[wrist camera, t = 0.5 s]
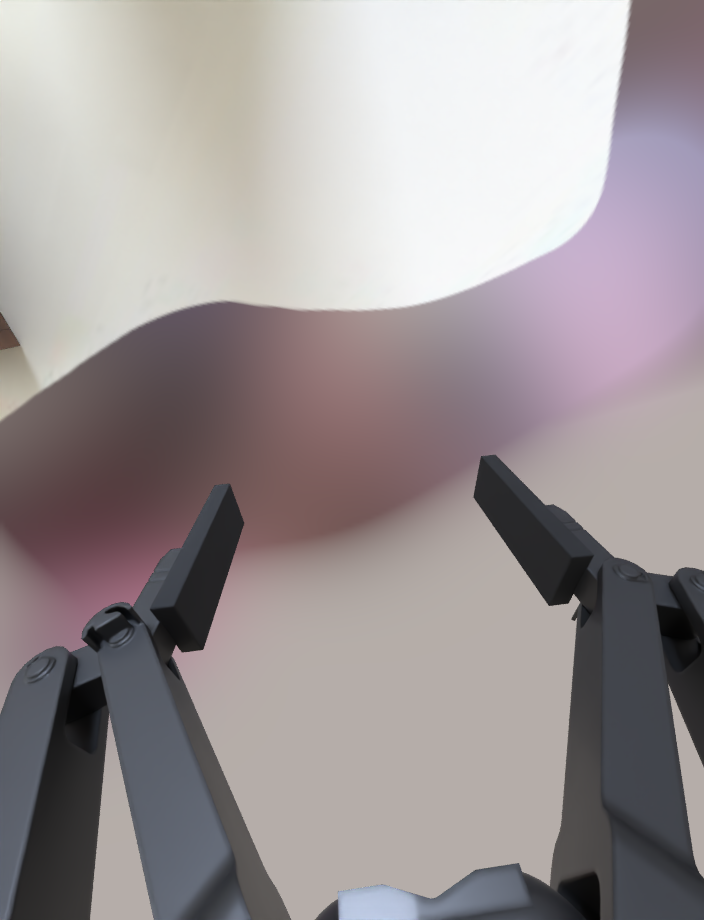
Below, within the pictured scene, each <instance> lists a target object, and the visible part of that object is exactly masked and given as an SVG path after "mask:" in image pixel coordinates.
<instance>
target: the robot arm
mask: <svg viewBox="0 0 704 920" xmlns="http://www.w3.org/2000/svg"><path fill="white" fill-rule="evenodd" d="M474 498H475V500H476V501H477V503H478V504H479V506H480V507H481V509H482V510H483V511H484V513H485V514H486V516H487V517H488V519H489V520H490V522H491V523H492V525H493V526H494V527H495V529H496V530H497V532H498V533H499V535H500V536H501V538H502V539H503V540H504V542H505V543H506V545H507V546H508V548H509V549H510V550H511V552H512V553H513V555H514V556H515V557H516V559H517V561H518V562H519V563H520V565H521V566H522V568H523V569H524V571H525V572H526V574H527V575H528V576H529V578H530V579H531V581H532V582H533V583H534V585H535V586H536V588H537V589H538V591H539V592H540V594H541V595H542V597H543V598H544V599H545V601H546V602H547V603H548V605H549V606H552V605H560V604H568V603H569V601H570V600H571V598H572V595H573V594H574V595H575V596H576V597H577V598H578V600H579V601H580V604H579V606H578V608H577V609H576V611H575V613H574V615H573V617H572V620H574V621H575V620H576V618H577V628H576V640H575V653H574V666H573V679H572V692H571V706H570V718H569V731H568V732H569V733H568V745H567V757H566V771H565V784H564V797H563V810H562V821H561V828H560V832H559V836H558V838H557V841H556V844H555V849H554V853H553V860H552V868H551V880H550V886H548V885H547V884H545V883H544V882H542V881H541V880H539V879H537V878H535V877H533V876H531V875H529V874H526V873H523V872H522V871H521V868H520V865H519V863H517V864H511V865H505V866H498V867H491V868H485V869H479V870H475V871H473V872H472V873H470V874H469V875H468V876H466V877H465V878H463V879H462V880H461V881H459V882H458V883H456V884H455V885H453V886H452V887H451V888H450V889H448V890H446V891H445V892H444V893H442V894H441V895H439V896H438V897H436V898H433V899H430V898H426V897H423V896H419V895H416V894H413V893H410V892H406V891H403V890H400V889H396V888H393V887H390V886H386V885H377V886H370V887H364V888H357V889H351V890H345V891H338V899H337V900H336V901H334V902H333V903H331V904H330V905H329V906H328V907H327V908H326V909H325V910H323V911H322V912H321V913H320V914H319V916H318V917H317V918H316V919H315V920H704V878H703V877H702V876H701V875H700V873H699V871H698V869H697V867H696V865H695V860H694V856H693V851H692V843H691V837H690V830H689V823H688V816H687V810H686V803H685V796H684V789H683V783H682V776H681V769H680V762H679V755H678V749H677V742H676V735H675V728H674V722H673V715H672V708H671V701H670V695H669V688H668V684H669V686H670V688H671V691H672V693H673V695H674V698H675V700H676V702H677V705H678V707H679V710H680V712H681V714H682V717H683V719H684V722H685V724H686V726H687V729H688V731H689V733H690V736H691V738H692V740H693V743H694V745H695V748H696V750H697V752H698V755H699V757H700V759H701V761H702V764H703V766H704V571H702V570H699V569H695V568H687V567H685V568H681V569H679V570H678V571H677V572H676V574H675V575H674V576H667V575H660V574H653V573H647V572H645V570H644V569H642V568H641V567H639V566H638V565H636V564H634V563H632V562H630V561H627V560H624V559H620V558H614V557H613V556H612V555H611V554H610V553H609V552H608V551H607V550H606V549H605V548H604V547H602V545H600V544H599V543H598V542H597V541H596V540H595V539H594V538H593V537H592V536H591V535H590V534H589V533H588V532H587V531H586V530H583V528H582V526H581V525H579V524H578V523H576V522H575V520H574V519H573V518H572V517H571V516H570V515H569V514H568V513H567V512H566V511H564V510H562V509H560V508H559V507H557V506H555V505H544V504H543V503H542V502H541V500H539V499H538V497H537V496H536V495H534V493H533V492H532V491H531V490H530V489H528V487H527V486H526V485H525V484H524V483H523V482H522V481H521V480H520V479H519V478H518V477H517V476H516V475H515V474H514V473H513V472H512V471H511V470H510V469H509V468H508V467H507V466H506V465H505V464H504V463H503V462H502V461H501V460H500V459H499V458H498V457H497V456H496V455H489V456H481V460H480V465H479V470H478V475H477V481H476V486H475V492H474ZM243 525H244V521H243V518H242V516H241V513H240V510H239V507H238V505H237V502H236V499H235V497H234V494H233V491H232V488H231V485H230V484H222V485H215V486H214V488H213V489H212V491H211V493H210V495H209V497H208V499H207V501H206V503H205V505H204V506H203V508H202V510H201V512H200V514H199V516H198V518H197V520H196V522H195V524H194V525H193V527H192V529H191V531H190V533H189V535H188V537H187V539H186V541H185V543H184V544H183V546H182V548H177V549H171V550H170V551H169V552H168V553H167V554H166V555H165V556H164V557H162V559H160V561H159V563H158V565H157V566H156V568H155V570H154V573H152V575H151V576H150V578H149V582H147V583H146V585H145V587H144V589H143V590H142V592H141V594H140V596H139V597H138V599H137V601H136V602H135V604H134V606H133V607H132V606H131V605H130V604H129V603H124V602H120V603H115V604H112V605H110V606H108V607H106V608H104V609H102V610H101V611H100V612H98V613H97V614H96V615H94V616H93V618H92V619H91V620H90V621H89V622H88V623H87V624H86V626H85V628H84V629H83V631H82V638H81V639H82V640H83V641H84V642H86V643H87V644H88V646H85V647H83V648H80V649H78V650H75V651H73V652H69V651H68V650H67V649H66V648H64V647H60V646H56V647H53V648H50V649H47V650H45V651H43V652H42V653H40V654H38V655H36V656H35V657H34V658H32V659H31V660H30V661H29V662H27V663H26V664H25V665H24V666H23V667H22V669H21V670H20V671H19V672H18V673H17V674H16V676H15V678H14V680H13V681H12V683H11V686H10V689H9V692H8V694H7V697H6V700H5V703H4V706H3V709H2V711H1V714H0V920H90V912H91V902H92V891H93V880H94V869H95V859H96V848H97V836H98V826H99V816H100V805H101V794H102V783H103V772H104V762H105V750H106V740H107V729H108V719H109V714H110V718H111V723H112V728H113V732H114V737H115V741H116V746H117V751H118V755H119V760H120V765H121V770H122V774H123V778H124V783H125V788H126V792H127V797H128V802H129V807H130V811H131V816H132V820H133V825H134V830H135V834H136V839H137V844H138V848H139V853H140V858H141V862H142V867H143V871H144V876H145V881H146V885H147V890H148V895H149V899H150V904H151V909H152V913H153V918H154V920H291V918H290V916H289V914H288V911H287V909H286V907H285V905H284V903H283V901H282V898H281V896H280V895H279V893H278V891H277V889H276V887H275V885H274V884H273V882H272V881H271V879H270V878H269V876H268V874H267V872H266V870H265V868H264V866H263V864H262V861H261V859H260V857H259V854H258V852H257V850H256V848H255V845H254V843H253V841H252V838H251V836H250V833H249V831H248V829H247V827H246V824H245V822H244V820H243V817H242V815H241V813H240V810H239V808H238V806H237V803H236V801H235V799H234V796H233V794H232V792H231V790H230V787H229V785H228V783H227V780H226V778H225V776H224V773H223V771H222V769H221V766H220V764H219V762H218V759H217V757H216V755H215V753H214V750H213V748H212V746H211V744H210V741H209V739H208V737H207V734H206V732H205V729H204V727H203V725H202V722H201V720H200V718H199V716H198V713H197V711H196V709H195V706H194V704H193V702H192V699H191V697H190V695H189V692H188V690H187V688H186V685H185V683H184V681H183V679H182V676H181V674H180V672H179V669H178V667H177V665H176V662H175V660H174V659H173V657H172V653H173V651H174V648H175V646H176V645H177V646H178V648H179V649H180V650H181V652H190V651H197V650H203V649H204V646H205V643H206V640H207V636H208V633H209V630H210V627H211V624H212V621H213V618H214V615H215V611H216V608H217V606H218V603H219V599H220V596H221V593H222V590H223V587H224V584H225V581H226V578H227V575H228V572H229V569H230V565H231V562H232V559H233V556H234V553H235V550H236V547H237V544H238V541H239V538H240V535H241V531H242V528H243Z"/></svg>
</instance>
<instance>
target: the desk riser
mask: <svg viewBox="0 0 704 920" xmlns="http://www.w3.org/2000/svg"><path fill="white" fill-rule="evenodd" d="M17 346H20V344H19V343H18V341H17V339H16V338H15V336H14V334H13V333H12V331H11V329H10V328H9V326H8V325H7V323H6V321H5V320H4V318H3V316H2V315H1V313H0V350H2V349H7V348H12V347H17Z"/></svg>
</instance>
